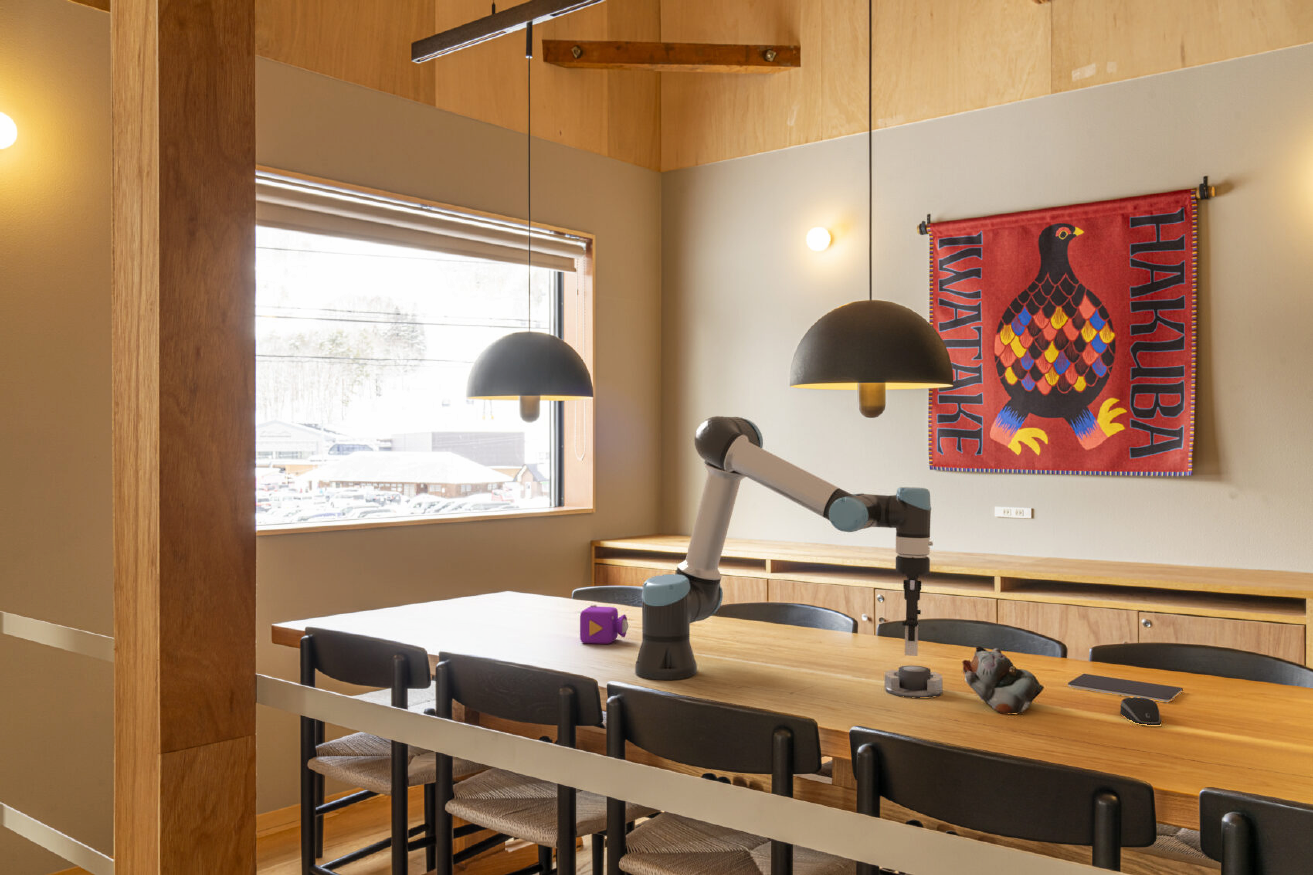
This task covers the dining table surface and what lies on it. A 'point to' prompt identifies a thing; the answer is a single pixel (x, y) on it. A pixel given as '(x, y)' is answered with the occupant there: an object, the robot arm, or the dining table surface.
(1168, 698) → the notebook
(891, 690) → the barrel ring
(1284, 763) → the dining table surface
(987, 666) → the lucky cat figurine
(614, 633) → the toy camera
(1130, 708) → the computer mouse
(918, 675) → the cylinder
